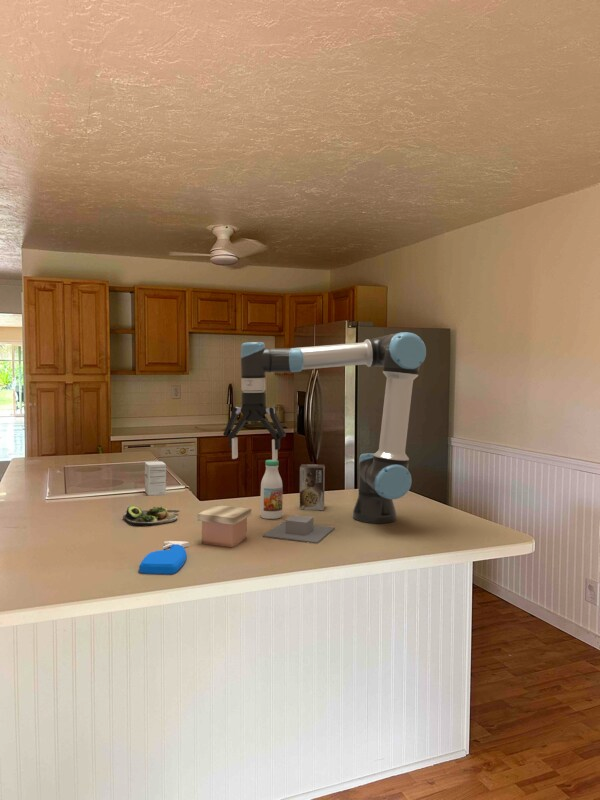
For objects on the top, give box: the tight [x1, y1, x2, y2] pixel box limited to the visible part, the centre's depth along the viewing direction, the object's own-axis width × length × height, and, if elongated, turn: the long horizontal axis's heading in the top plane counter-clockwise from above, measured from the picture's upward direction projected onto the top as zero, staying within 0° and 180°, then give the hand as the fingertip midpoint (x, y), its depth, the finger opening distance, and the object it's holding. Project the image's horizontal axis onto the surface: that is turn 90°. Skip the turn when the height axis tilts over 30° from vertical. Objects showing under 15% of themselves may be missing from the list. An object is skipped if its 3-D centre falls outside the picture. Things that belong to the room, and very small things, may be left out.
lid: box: [197, 504, 252, 525], centre depth 182 cm, size 12×12×2 cm
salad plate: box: [122, 505, 180, 527], centre depth 206 cm, size 19×18×5 cm
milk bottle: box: [259, 459, 284, 520], centre depth 211 cm, size 8×8×20 cm
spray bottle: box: [138, 540, 190, 575], centre depth 165 cm, size 3×11×24 cm
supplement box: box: [144, 460, 167, 496], centre depth 246 cm, size 7×7×13 cm
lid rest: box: [261, 514, 336, 544], centre depth 192 cm, size 18×18×4 cm
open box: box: [201, 517, 248, 548], centre depth 182 cm, size 10×10×7 cm
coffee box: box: [299, 463, 326, 511], centre depth 225 cm, size 9×6×16 cm
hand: (254, 459), depth 189 cm, fingers open, 13 cm apart
